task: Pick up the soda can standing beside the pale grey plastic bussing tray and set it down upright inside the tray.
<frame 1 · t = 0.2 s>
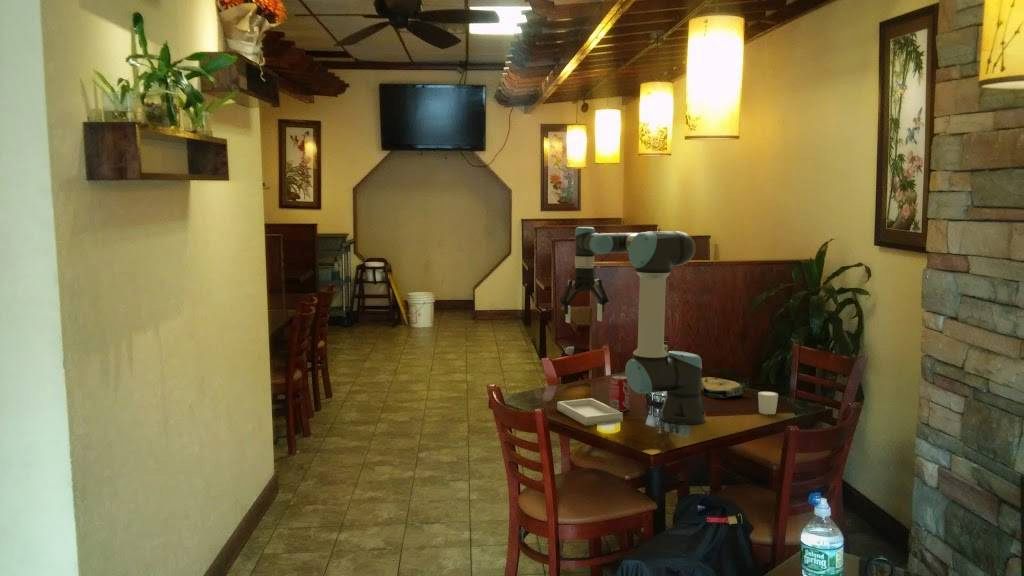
hand: (583, 321, 323), 28 cm above the table, fingers open, 13 cm apart
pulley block: (713, 392, 328), on the table
bussing tray: (589, 415, 290), on the table
white cup: (767, 413, 296), on the table
decorative figurine: (657, 380, 347), on the table
soda can: (619, 410, 299), on the table
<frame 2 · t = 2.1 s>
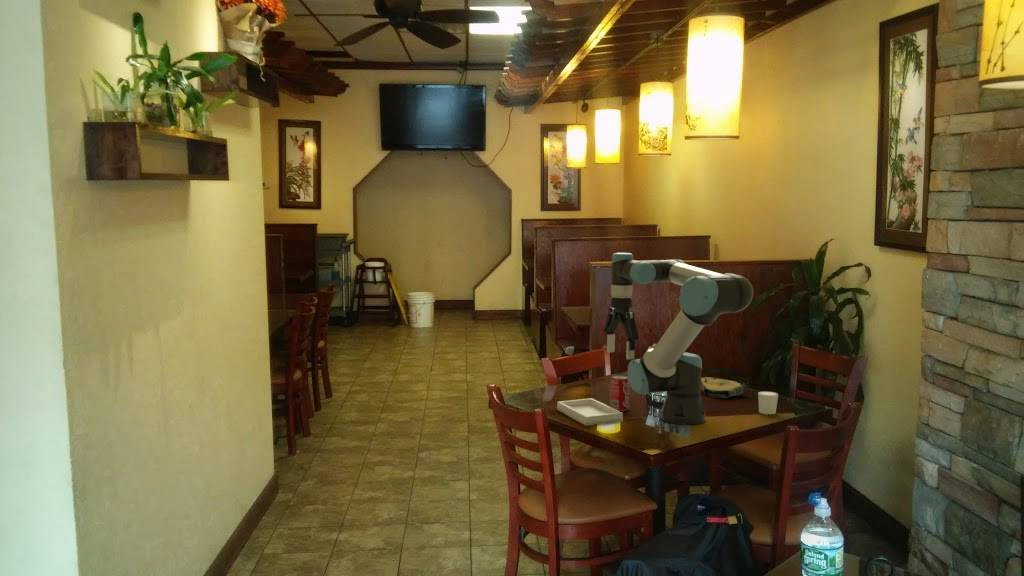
hand: (620, 355, 297), 20 cm above the table, fingers open, 13 cm apart
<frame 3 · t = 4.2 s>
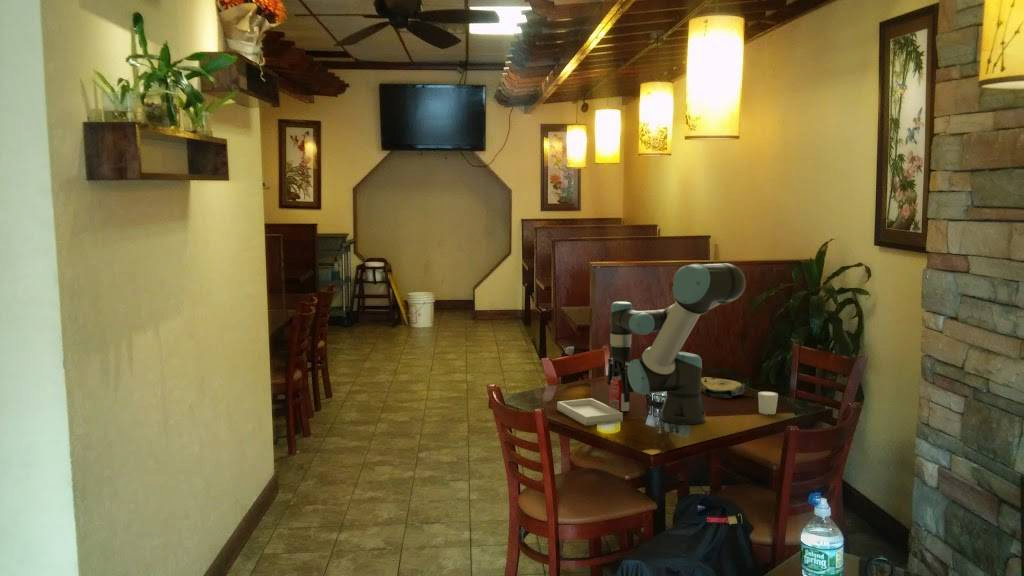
hand: (619, 408, 299), 1 cm above the table, fingers closed on soda can, 7 cm apart
soda can: (619, 410, 299), on the table, touching gripper
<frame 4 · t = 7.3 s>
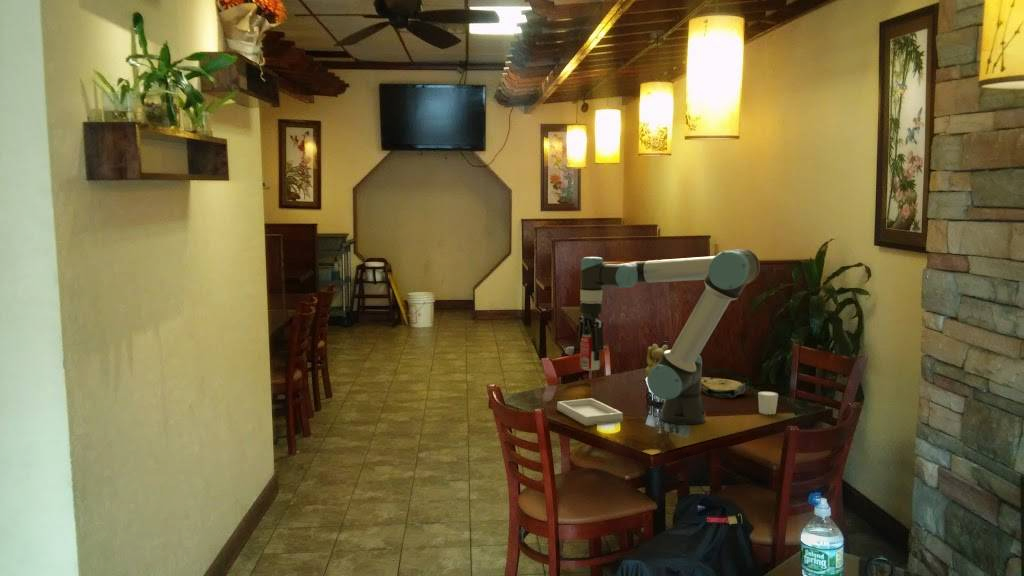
hand: (590, 367, 289), 17 cm above the table, fingers closed on soda can, 7 cm apart
soda can: (590, 369, 289), point 16 cm above the table, touching gripper
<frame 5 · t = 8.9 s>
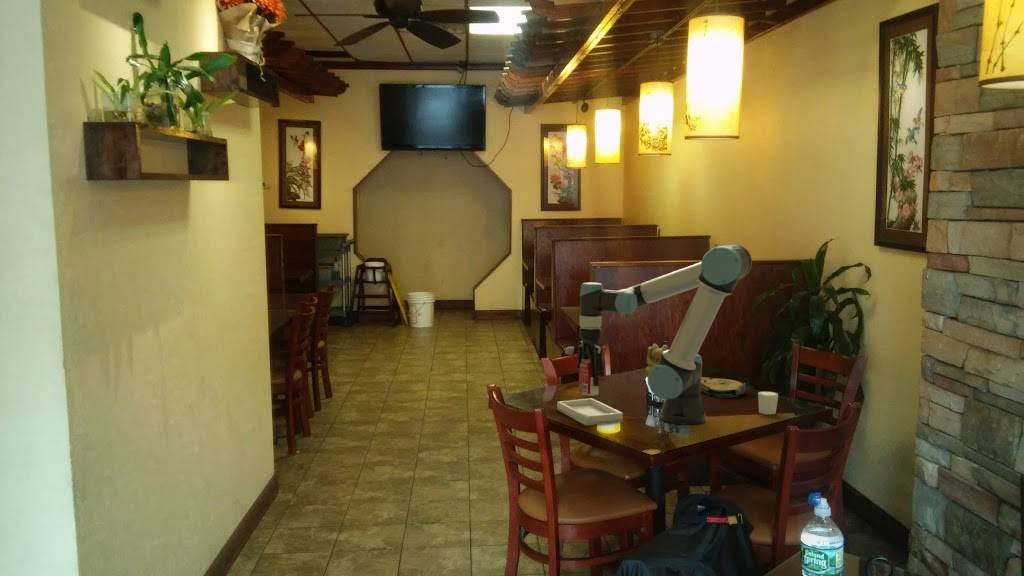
hand: (589, 392, 290), 8 cm above the table, fingers closed on soda can, 7 cm apart
soda can: (589, 394, 290), point 7 cm above the table, touching gripper
when the fingers open (3 cm above the table, at t = 10.3 s): soda can drops 1 cm, resting on bussing tray.
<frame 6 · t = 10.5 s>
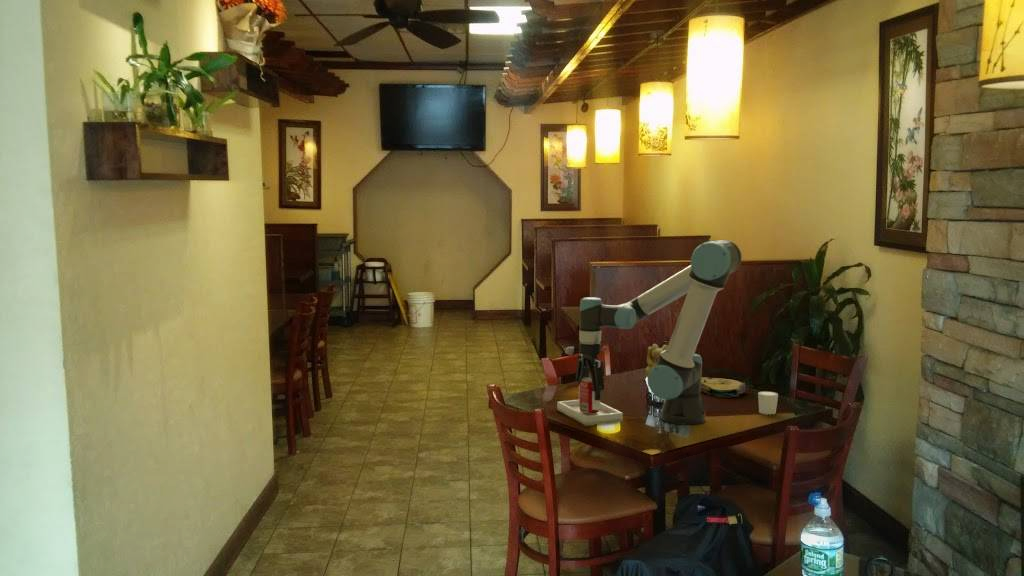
hand: (589, 405, 290), 4 cm above the table, fingers open, 9 cm apart
soda can: (589, 413, 290), point 1 cm above the table, touching bussing tray
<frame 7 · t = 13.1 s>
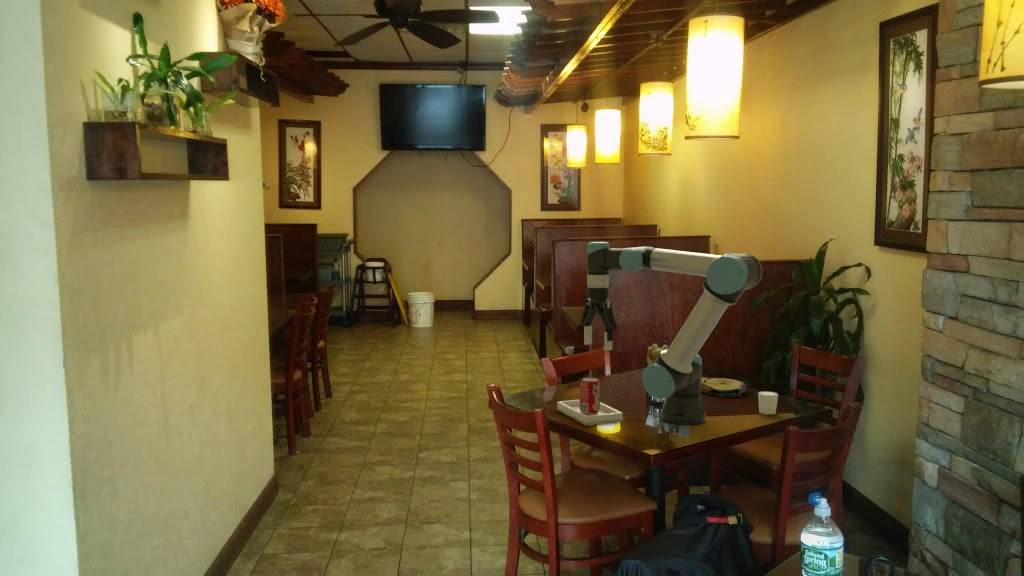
hand: (598, 347, 290), 24 cm above the table, fingers open, 13 cm apart
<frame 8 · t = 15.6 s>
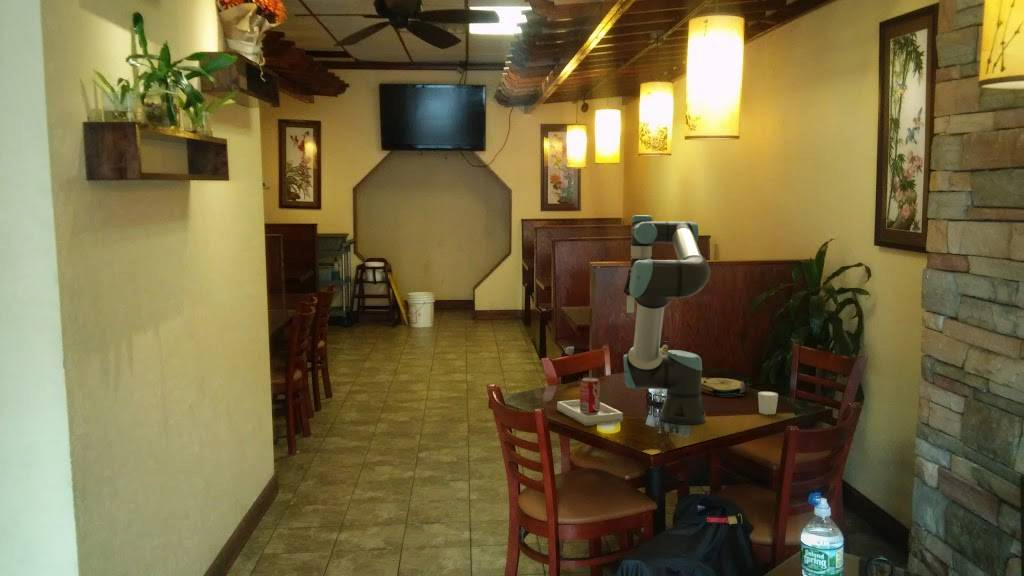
hand: (640, 315, 306), 33 cm above the table, fingers open, 13 cm apart
at the end: soda can inside the target area on the bussing tray (0.3 cm from its centre), point 0.8 cm above the bussing tray's base; soda can tilted 1°; the gripper is holding nothing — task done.
